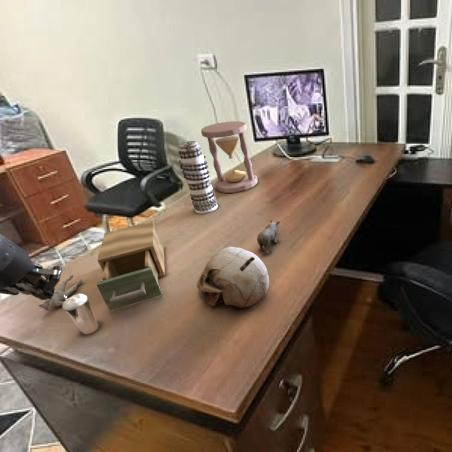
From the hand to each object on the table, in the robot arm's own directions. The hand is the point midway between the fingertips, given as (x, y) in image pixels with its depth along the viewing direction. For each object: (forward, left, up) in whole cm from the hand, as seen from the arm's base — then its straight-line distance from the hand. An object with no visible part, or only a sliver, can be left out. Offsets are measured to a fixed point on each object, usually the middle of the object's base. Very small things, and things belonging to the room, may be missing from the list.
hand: (48, 294), depth 67 cm
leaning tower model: (+33, +58, -15) cm, 68 cm away
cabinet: (+11, +27, -15) cm, 33 cm away
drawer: (+11, +14, -14) cm, 22 cm away
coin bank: (+33, +1, -15) cm, 36 cm away
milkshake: (+1, +6, -15) cm, 16 cm away
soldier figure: (-7, +23, -15) cm, 28 cm away
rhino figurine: (+48, +20, -15) cm, 54 cm away
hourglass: (+48, +75, -15) cm, 90 cm away
